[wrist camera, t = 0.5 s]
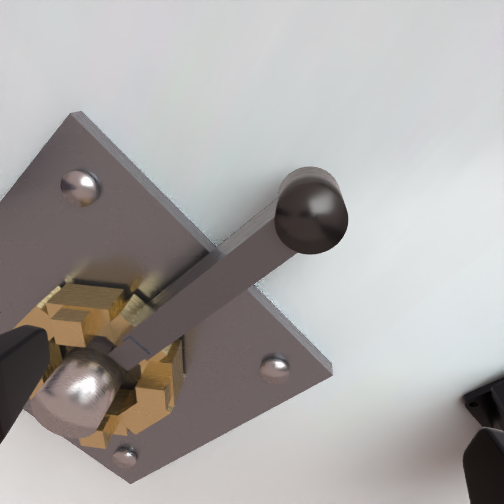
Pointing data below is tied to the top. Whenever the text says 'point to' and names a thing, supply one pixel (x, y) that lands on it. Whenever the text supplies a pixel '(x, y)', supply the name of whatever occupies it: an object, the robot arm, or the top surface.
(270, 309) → the flange plate
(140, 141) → the top surface
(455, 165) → the top surface
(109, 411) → the lever handle
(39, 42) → the top surface
